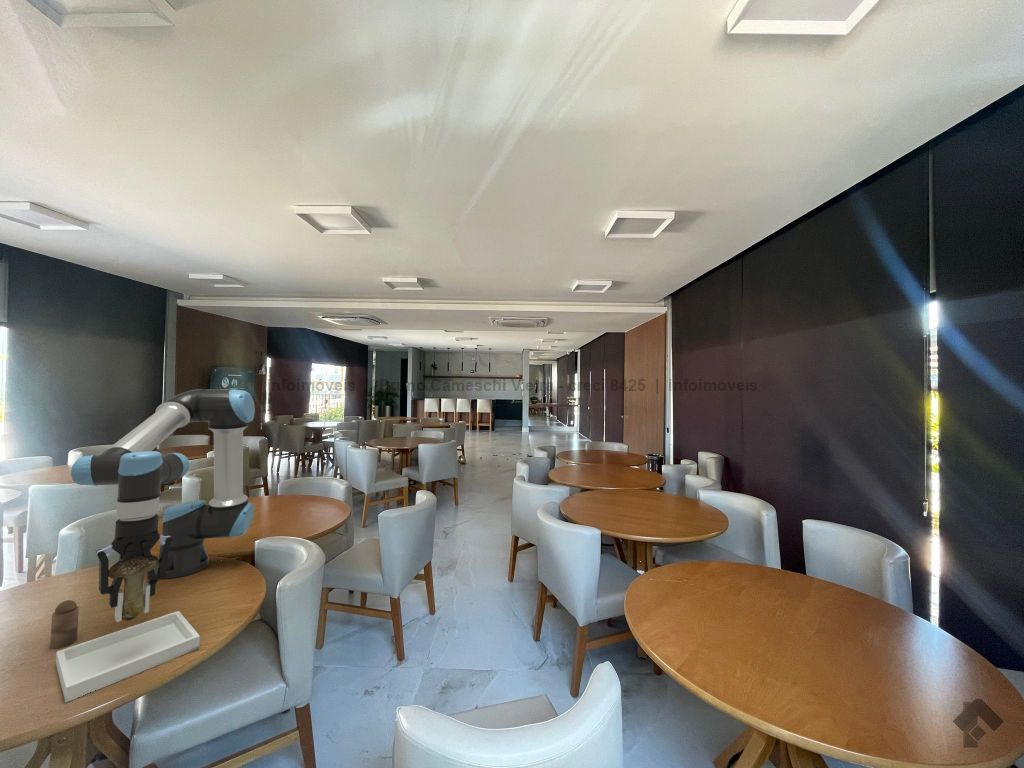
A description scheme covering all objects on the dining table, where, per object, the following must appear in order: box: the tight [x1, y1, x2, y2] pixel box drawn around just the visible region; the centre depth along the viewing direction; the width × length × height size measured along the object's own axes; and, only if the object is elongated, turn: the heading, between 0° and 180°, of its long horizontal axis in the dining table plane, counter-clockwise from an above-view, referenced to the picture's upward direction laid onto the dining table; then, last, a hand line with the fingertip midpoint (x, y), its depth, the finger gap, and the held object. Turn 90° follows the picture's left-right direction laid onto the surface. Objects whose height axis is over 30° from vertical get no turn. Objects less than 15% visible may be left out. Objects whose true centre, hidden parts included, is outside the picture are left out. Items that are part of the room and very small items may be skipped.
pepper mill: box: [49, 599, 80, 650], centre depth 97 cm, size 4×4×10 cm
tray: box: [55, 610, 201, 704], centre depth 93 cm, size 22×18×3 cm
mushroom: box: [108, 554, 159, 622], centre depth 94 cm, size 9×9×15 cm
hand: (131, 614), depth 93 cm, fingers closed on mushroom, 4 cm apart
